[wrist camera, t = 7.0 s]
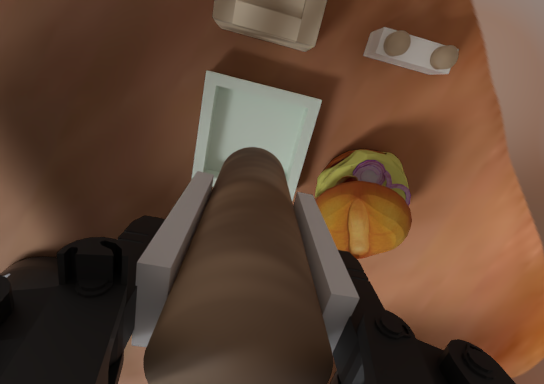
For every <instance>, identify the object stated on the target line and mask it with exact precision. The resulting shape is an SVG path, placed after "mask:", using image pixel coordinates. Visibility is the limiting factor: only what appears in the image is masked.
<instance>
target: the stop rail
mask: <svg viewBox="0 0 544 384" xmlns="http://www.w3.org/2000/svg"><path fill="white" fill-rule="evenodd" d="M458 51H459V49H457V48H456V47H455V46H453V45H447V46H446V45H442V44H439V43H436V42H433V41H429V40H426V39H423V38H419V37H416V36H413V35H410V34H408V33H407V32H406V31H404V30H400V31H396V30H393V29H390V28H387V27H383V28H381V29H378V30H376V31H373V32H371V33H370V36H369V39H368V42H367V45H366V48H365V51H364V54H363V56H365V57H369V58H372V59H376V60H379V61H383V62H386V63H390V64H393V65H397V66H400V67H404V68H407V69H411V70H414V71H418V72H422V73H425V74H429V75H430V74H448V73H449V71H450V69H451V67H452V66H453V65H454V64H455V63H456V62H457V59H458V55H459V54H458Z"/></svg>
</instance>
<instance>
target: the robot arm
mask: <svg viewBox="0 0 544 384" xmlns="http://www.w3.org/2000/svg"><path fill="white" fill-rule="evenodd" d="M213 178H214V174H209V173H204V172H200V171H197V172H196V174H195V175H194V177H193V178H192V180H191V181H190V183H189V184H188V186H187V187H186V189H185V190H184V192H183V193H182V195H181V197H180V198H179V200H178V201H177V203H176V204H175V206H174V207H173V209H172V210H171V212H170V213H169V215H168V216H167V218H166V219H162V218H156V217H151V216H143V217H141V218H139V219H137V220H135V221H133V222H132V223H131V224H130V225H129V226H128V227H127V228H126V229H125V231H124V232H123V233H122V234H121V235H120V236H119V237H118V240H116V239H112V238H106V237H93V238H86V239H82V240H77V241H75V242H73V243H70V244H68V245H66V246H64V247H63V248H62V249H61V250H60V251H59V252H58V253H57V258H55V257H33V258H28V259H24V260H21V261H19V262H16V263H14V264H13V265H11V266H10V267H8V268H7V269H6V270H4V271H3V272H2V273H0V384H118V381H119V377H120V373H121V369H122V365H123V358H124V349H125V347H126V344H127V342H128V340H129V338H130V336H131V334H132V345H133V346H141V347H147V345H148V343H149V340H150V338H151V335H152V333H153V331H154V328H155V326H156V323H157V321H158V319H159V316H160V314H161V312H162V309H163V307H164V304H165V302H166V300H167V297H168V295H169V292H170V290H171V288H172V285H173V283H174V280H175V278H176V276H177V273H178V271H179V268H180V266H181V264H182V261H183V259H184V257H185V254H186V252H187V249H188V247H189V245H190V242H191V240H192V237H193V235H194V233H195V230H196V228H197V225H198V223H199V221H200V218H201V216H202V213H203V211H204V209H205V206H206V204H207V202H208V199H209V197H210V194H211V190H212V184H213ZM293 207H294V211H295V214H296V218H297V222H298V226H299V229H300V233H301V237H302V241H303V244H304V248H305V252H306V256H307V259H308V263H309V267H310V271H311V274H312V278H313V282H314V286H315V289H316V293H317V297H318V301H319V304H320V308H321V312H322V316H323V319H324V323H325V327H326V331H327V334H328V338H329V342H330V346H331V350H332V355H333V357H334V361H335V364H336V368H337V371H336V373H335V375H334V377H333V379H332V381H331V383H330V384H515V382H514V381H513V380H512V379H511V378H510V377H509V375H508V374H507V373H506V372H505V371H504V370H503V368H502V367H501V366H500V365H499V364H498V363H497V362H496V361H495V360H494V359H493V358H492V357H491V356H489V355H488V354H487V353H485V352H484V351H483V350H482V349H480V348H478V347H477V346H474V345H473V344H471V343H469V342H466V341H462V340H451V341H450V343H449V344H448V345H447V347H446V348H445V350H441V349H439V348H437V347H434V346H432V345H429V344H427V343H424V342H422V341H420V340H417V339H416V338H415V335H414V334H413V332H412V330H411V329H410V327H409V326H408V325H407V324H406V323H405V322H404V321H403V320H402V319H401V318H399V317H398V316H396V315H395V314H393V313H391V312H389V311H387V310H385V309H384V307H383V305H382V304H381V302H380V300H379V298H378V296H377V294H376V292H375V291H374V289H373V287H372V285H371V283H370V281H368V278H367V276H366V274H365V273H364V270H363V268H362V266H361V265H360V263H359V261H358V260H357V259H356V258H355V257H354V256H353V255H352V254H351V253H350V252H348V251H342V250H338V249H337V247H336V245H335V243H334V241H333V238H332V236H331V234H330V232H329V230H328V227H327V225H326V223H325V221H324V219H323V216H322V214H321V212H320V210H319V208H318V205H317V203H316V201H315V199H314V197H313V195H310V194H305V193H301V192H297V195H296V199H295V202H294V206H293Z"/></svg>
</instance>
